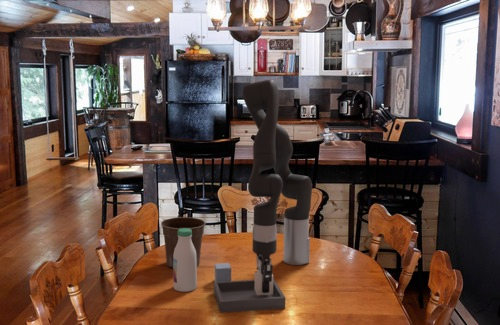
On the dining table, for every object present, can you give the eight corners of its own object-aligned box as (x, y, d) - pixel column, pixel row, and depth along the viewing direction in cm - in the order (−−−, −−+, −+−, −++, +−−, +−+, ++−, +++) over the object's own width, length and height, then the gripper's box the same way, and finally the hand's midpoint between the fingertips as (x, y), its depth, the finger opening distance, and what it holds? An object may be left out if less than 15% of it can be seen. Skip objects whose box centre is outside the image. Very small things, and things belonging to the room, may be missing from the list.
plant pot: (200, 255, 223) (199, 215, 220) (210, 269, 208) (210, 226, 205) (158, 259, 218) (157, 218, 215) (165, 274, 203) (165, 230, 200)
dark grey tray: (273, 288, 191) (273, 278, 190) (285, 308, 175) (285, 297, 175) (213, 292, 187) (213, 281, 187) (220, 312, 172) (220, 301, 171)
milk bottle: (200, 285, 193) (200, 227, 189) (190, 293, 186) (190, 234, 182) (179, 282, 195) (179, 225, 192) (169, 290, 188) (168, 231, 185)
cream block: (254, 289, 184) (254, 271, 183) (269, 288, 185) (270, 270, 184) (257, 295, 179) (257, 276, 178) (273, 294, 180) (273, 276, 179)
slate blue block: (229, 279, 198) (229, 262, 198) (231, 284, 194) (231, 268, 193) (214, 280, 198) (214, 263, 197) (216, 285, 193) (216, 268, 192)
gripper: (248, 231, 185) (248, 281, 188) (257, 244, 171) (256, 298, 174) (271, 230, 186) (270, 280, 189) (281, 243, 172) (280, 297, 175)
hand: (263, 288), depth 181 cm, fingers closed on cream block, 5 cm apart
